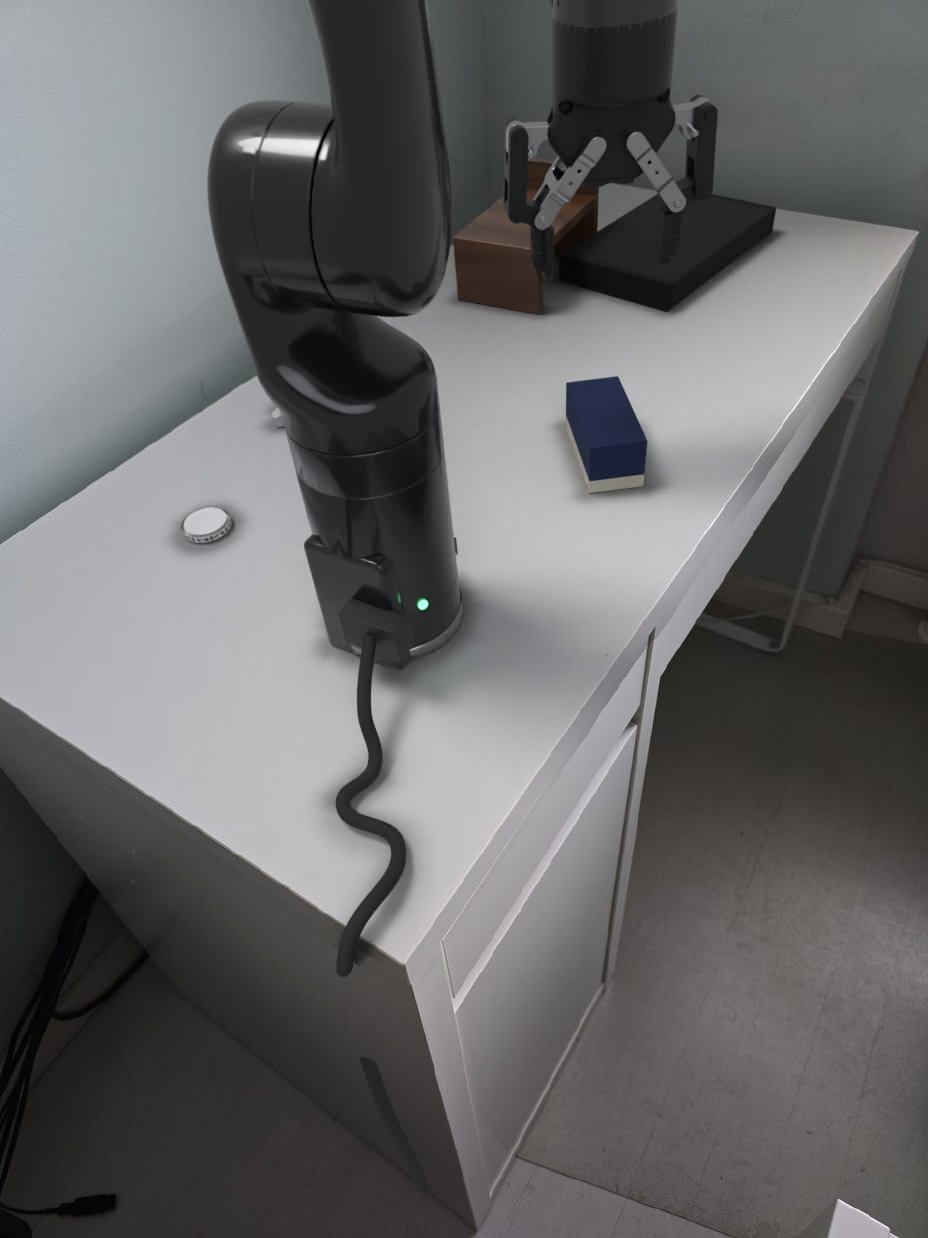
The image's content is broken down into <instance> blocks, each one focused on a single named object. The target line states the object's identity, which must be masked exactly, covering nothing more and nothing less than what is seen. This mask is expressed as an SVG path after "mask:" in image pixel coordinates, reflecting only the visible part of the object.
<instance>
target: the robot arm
mask: <svg viewBox="0 0 928 1238" xmlns="http://www.w3.org/2000/svg"><path fill="white" fill-rule="evenodd" d="M549 2H550V5H551V40H552V41H551V48H552V49H551V51H552V53H551V55H552V59H551V61H552V63H551V65H552V68H551V69H552V75H551V76H552V77H551V78H552V79H551V80H552V83H551V84H552V85H551V86H552V87H551V88H552V89H551V90H552V91H551V93H552V99H551V100H552V101H551V102H552V103H551V108H550V112H549V114H548V117H547V118H546V120H545V121H543V120H542V121H527V122H522V121H521V119H520V118H519V117H517V116H512V117H511V116H510V117H509V118H508V119H506V121H505V123H504V127H503V128H504V131H503V132H504V133H503V185H502V186H503V187H502V189H503V191H502V193H503V194H502V195H503V196H502V197H503V204H504V207H505V210H506V212H507V214H508V217H509V219H510V221H511V222H513V223H515V224H518V223H525V224H528V225H530V244H531V260H532V262H533V264H534V267H535V269H536V271H537V273H538V272H541V274H542V276H543V281H547V280H553V279H555V252H554V228H553V226H552V224H551V223H552V222H553V220H554V219H555V217H556V216H557V214H558V213H559V211H560V210H561V208H562V207H563V206H564V204H566V203H568V202H569V201H570V200H571V199H572V197H573V196H574V194H575V193H576V191H577V190H578V188H579V187H580V185H581V184H583V185H586V186H587V187H588V188H596V187H599V188H600V187H603V186H606V185H608V184H611V183H613V184H619V185H627V184H634V182H635V179H638V178H639V177H640V176H641V175H642V174H644V176H645V177H646V179H647V180H648V181H649V183H650V184H651V186H652V187H653V188H654V190H655V191H656V194H659V196H660V197H661V199H660V203H659V204H656V209H655V222H654V235H653V247H652V253H653V257H654V259H655V260H656V262H657V263H658V265H664V264H669V262H670V256H671V255H675V254H676V252H677V250H678V248H679V239H680V229H681V219H682V212H683V210H684V208H685V207H686V206H687V205H688V204H689V203H691V202H693V201H695V200H697V199H699V200H705V199H707V198H709V197H710V195H711V194H713V190H714V178H715V177H714V176H715V162H716V161H715V160H716V145H717V133H718V132H717V131H718V116H719V113H718V112H719V111H718V108H717V107H716V106H715V105H714V104H713V102H711V100H709V99H708V98H707V97H705V95H703V94H695V95H694V96H692V97H691V98H690V100H689V101H687V102H683V103H677V104H672V101H671V88H672V80H673V79H672V78H673V68H674V67H673V66H674V55H675V40H676V32H677V31H676V30H677V20H678V9H679V7H678V6H679V0H549ZM306 4H307V6H308V9H309V12H310V15H311V18H312V19H311V20H312V23H313V26H314V30H315V35H316V38H317V42H318V46H319V49H320V55H321V58H322V63H323V68H324V71H325V76H326V82H327V87H328V92H329V97H330V102H325V101H303V100H300V101H299V100H282V99H279V100H278V99H276V100H275V99H273V100H270V99H269V100H268V99H267V100H255V101H250V102H247V103H244V104H243V105H241V106H239V107H238V108H236V109H234V110H232V111H231V113H229V114H228V115H227V116H226V118H225V119H224V121H223V122H222V123H221V125H220V126H219V128H218V130H217V132H216V134H215V137H214V139H213V142H212V146H211V149H210V154H209V158H208V165H207V179H206V180H207V182H206V183H207V184H206V185H207V186H206V190H207V192H206V193H207V195H206V197H207V207H208V217H209V221H210V228H211V233H212V237H213V243H214V246H215V251H216V253H217V259H218V261H219V266H220V268H221V271H222V274H223V275H222V276H223V278H224V281H225V285H226V287H227V290H228V293H229V296H230V299H231V302H232V305H233V308H234V310H235V314H236V317H237V319H238V322H239V326H240V329H241V331H242V334H243V337H244V340H245V343H246V346H247V349H248V353H249V355H250V359H251V362H252V366H253V368H254V371H255V374H256V377H257V379H258V381H259V384H260V386H261V387H262V390H263V391H264V392H265V395H266V396H267V397H268V398H269V400H270V401H271V402H272V404H273V403H274V404H275V406H276V407H277V408H278V409H279V411H280V414H281V417H282V421H283V425H284V426H283V427H284V432H285V435H286V440H287V443H288V446H289V450H290V454H291V458H292V461H293V465H294V466H293V467H294V470H295V474H296V478H297V481H298V486H299V490H300V494H301V497H302V501H303V505H304V508H305V511H306V516H307V520H308V524H309V528H310V532H311V534H310V536H309V537H308V538H307V539H306V540H305V541H304V542H303V549H304V553H305V556H306V560H307V564H308V568H309V573H310V575H311V578H312V582H313V585H314V589H315V593H316V597H317V600H318V604H319V608H320V612H321V615H322V619H323V623H324V626H325V630H326V634H327V637H328V641H329V644H330V645H332V646H335V647H338V648H341V649H343V650H346V651H348V652H351V653H353V654H356V655H358V656H359V666H358V673H357V682H356V683H357V684H356V687H357V688H356V713H357V714H356V715H357V720H358V725H359V728H360V731H361V734H362V736H363V737H362V738H363V739H364V742H365V746H366V749H367V757H368V759H367V765H366V768H365V770H363V771H362V773H360V774H359V775H358V776H357V777H355V778H354V779H352V780H350V781H349V782H347V783H346V784H344V785H343V786H342V788H340V790H339V791H338V792H337V794H336V797H335V810H336V813H337V815H338V817H339V818H340V820H341V821H342V822H344V823H345V824H346V825H347V826H350V827H352V828H355V829H357V830H359V831H363V832H366V833H370V834H372V835H375V836H378V837H380V838H382V839H383V840H385V841H386V842H387V843H388V846H389V848H390V859H389V862H388V866H387V867H386V869H385V872H384V873H383V875H382V876H381V877H380V879H379V880H378V881H377V883H376V884H375V885H374V886H373V887H372V889H371V890H370V891H369V892H368V893H367V894H366V895H365V897H364V898H363V899H362V901H361V902H360V903H359V905H358V906H357V907H356V909H355V910H354V911H353V913H352V915H350V918H349V919H348V921H347V923H346V925H345V928H344V930H343V931H342V934H341V938H340V941H339V945H338V951H337V956H336V963H335V964H336V966H335V968H336V974H337V975H338V976H339V977H340V978H346V977H348V976H349V975H350V974H351V972H352V970H353V968H354V962H355V956H356V950H357V946H358V942H359V940H360V937H361V935H362V933H363V931H364V929H365V927H366V925H367V924H368V922H369V921H370V919H371V918H372V916H373V915H374V914H375V913H376V911H377V910H378V909H379V907H381V905H382V904H383V902H384V901H385V900H386V899H387V898H388V897H389V895H390V894H391V893H392V892H393V890H394V889H395V887H396V886H397V884H398V883H399V882H400V879H401V877H402V876H403V873H404V870H405V868H406V861H407V847H406V841H405V839H404V836H403V834H402V833H401V831H400V830H398V828H397V827H395V826H394V825H392V824H390V823H388V822H386V821H385V820H383V819H382V820H381V819H378V818H375V817H372V816H369V815H366V814H363V813H360V812H359V811H356V810H355V809H354V808H353V807H352V806H351V802H352V799H354V798H355V796H357V795H358V794H360V793H361V792H363V791H364V790H365V789H367V788H369V787H370V786H371V785H373V783H374V782H375V781H376V780H377V778H378V777H379V775H380V773H381V770H382V767H383V760H384V755H383V754H384V753H383V746H382V743H381V739H380V736H379V733H378V730H377V728H376V725H375V722H374V718H373V711H372V710H373V709H372V685H373V684H372V683H373V673H374V663H375V662H378V663H379V664H383V665H385V666H388V667H390V668H393V669H396V670H399V671H400V670H403V669H405V668H406V666H407V665H408V664H409V663H410V662H411V660H414V659H418V658H421V657H423V656H426V655H429V654H431V653H432V652H435V651H436V650H438V649H439V648H441V647H442V646H443V645H445V644H446V643H447V642H448V641H449V640H450V639H451V638H452V637H454V634H455V633H457V630H458V629H459V627H460V625H461V622H462V620H463V615H464V603H463V595H462V591H461V588H460V580H459V572H458V570H459V569H458V563H457V556H458V555H459V553H458V542H457V537H455V535H454V526H453V519H452V518H453V517H452V516H453V515H452V508H451V499H450V498H451V497H450V489H449V482H448V481H449V480H448V479H449V478H448V471H447V462H446V452H445V444H444V443H445V442H444V441H445V440H444V432H443V424H442V415H441V405H440V395H439V387H438V377H437V372H436V368H435V364H434V362H433V360H432V358H431V356H430V355H429V353H428V352H427V350H426V349H425V348H424V347H423V346H422V345H421V344H420V343H419V342H417V341H416V340H415V339H413V338H412V337H411V336H409V335H407V334H405V333H403V332H402V331H401V330H399V329H396V328H395V327H393V326H392V325H391V324H388V323H387V322H386V321H384V320H382V319H381V318H379V317H383V318H405V317H410V316H414V315H416V314H419V313H420V312H422V311H423V310H425V309H426V308H427V307H428V306H429V305H430V304H431V303H433V300H434V299H435V298H436V296H437V294H438V292H439V291H440V288H441V287H442V283H443V281H444V278H445V275H446V270H447V266H448V261H449V256H450V249H451V239H452V224H453V220H452V219H453V215H452V213H453V209H452V207H453V206H452V183H451V182H452V181H451V172H450V170H451V169H450V161H449V152H448V145H447V144H448V143H447V136H446V129H445V119H444V113H443V107H442V98H441V91H440V84H439V77H438V70H437V61H436V56H435V54H436V53H435V48H434V40H433V32H432V25H431V19H430V18H431V17H430V12H429V4H428V0H306ZM675 126H678V129H679V132H680V135H682V137H683V138H684V139H686V147H685V148H686V150H685V170H684V171H685V172H684V177H683V178H680V179H679V180H676V181H675V180H674V179H673V176H672V175H671V174H670V173H669V171H668V169H667V168H666V167H665V165H664V163H663V162H662V161H661V159H660V158H659V156H658V155H657V154H658V152H659V150H660V149H661V147H662V146H663V145H664V143H665V142H666V140H667V139H668V137H669V136H670V134H671V133H672V132H673V129H674V127H675ZM544 142H548V143H549V146H550V147H551V149H552V150H553V151H554V153H556V155H557V156H556V158H554V159H555V161H554V163H553V164H552V166H551V167H550V169H549V170H548V172H547V174H546V176H545V179H544V182H543V184H542V186H541V187H540V189H539V191H538V192H537V194H536V195H535V197H534V198H533V200H531V199H527V170H528V161H529V160H532V159H534V158H535V157H537V155H538V152H539V148H540V146H541V145H542V144H543V143H544ZM561 167H562V168H561ZM570 182H571V183H570ZM274 404H273V405H274ZM275 406H274V407H275ZM358 1058H359V1062H360V1064H361V1068H362V1071H363V1075H364V1077H365V1080H366V1084H367V1087H368V1089H369V1091H370V1094H371V1097H372V1099H373V1102H374V1104H375V1106H376V1109H377V1112H378V1113H379V1115H380V1118H381V1120H382V1122H383V1124H384V1127H385V1128H386V1130H387V1132H388V1134H389V1136H390V1138H391V1139H392V1141H393V1144H394V1145H395V1147H396V1149H397V1150H398V1152H399V1154H400V1155H401V1158H402V1159H403V1161H404V1163H405V1165H406V1166H407V1168H408V1171H409V1173H410V1174H411V1176H412V1178H413V1181H414V1182H415V1184H416V1185H415V1186H416V1187H417V1189H418V1191H419V1193H420V1194H421V1195H426V1194H428V1193H429V1191H430V1185H429V1182H428V1180H427V1177H426V1174H425V1172H424V1170H423V1168H422V1165H421V1164H420V1161H419V1159H418V1157H417V1155H416V1153H415V1152H414V1149H413V1147H412V1145H411V1143H410V1140H409V1139H408V1138H407V1137H408V1136H407V1135H406V1134H405V1131H404V1129H403V1127H402V1125H401V1123H400V1121H399V1119H398V1117H397V1114H396V1112H395V1110H394V1108H393V1105H392V1103H391V1100H390V1098H389V1095H388V1092H387V1090H386V1087H385V1084H384V1081H383V1077H382V1075H381V1071H380V1069H379V1065H378V1063H377V1062H375V1061H373V1060H372V1059H370V1058H368V1057H366V1056H358Z"/></svg>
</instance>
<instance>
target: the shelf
mask: <svg viewBox="0 0 928 1238" xmlns="http://www.w3.org/2000/svg"><path fill="white" fill-rule="evenodd" d="M555 159H556V158H547V157H537V156H536V157H535V158H534V159H532V160H529V161H528V170H527V199H531V200H533V198H534V197H535V195H536V194H537V192H538V191H539V189H540V187H541V186H542V184H543V182H544V179H545V176H546V174H547V172H548V170H549V169H550V167H551V166H552V164H553V163H554V161H555ZM561 168H562V167H561ZM570 183H571V182H570ZM599 193H600V187H596V188H588V187H587V186H586V185H583V184H581V185H580V187H579V188H578V190H577V191H576V193H575V194H574V196H573V197H572V199H571V200H570V201H569V202H568V203H566V204H564V206H563V207H562V208H561V210H560V211H559V213H558V214H557V216H556V217H555V219H554V220H553V222H552V223H551V224H552V226H553V228H554V253H557V254H563V253H564V252H566V251H567V250H569V249H571V248H572V247H574V246H575V245H577V244H579V243H580V242H582V241H583V240H585V239H586V238H588V237H590V236H591V235H593V234H594V233H596V232H598V228H599V227H598V224H599ZM452 242H453V243H452V244H453V254H454V266H455V278H456V279H455V280H456V289H457V292H456V293H457V300H458V301H463V302H468V303H473V304H479V305H483V306H489V307H494V308H501V309H506V310H510V311H511V310H512V311H517V312H521V313H528V314H533V315H540V314H541V313H542V312H543V311H544V279H543V276H542V274H541V272H538V273H537V271H536V269H535V267H534V264H533V262H532V260H531V244H530V225H528V224H525V223H518V224H515V223H513V222H511V221H510V219H509V217H508V214H507V212H506V210H505V207H504V204H503V196H501V197H500V198H499V199H497V201H495V202H494V203H493V204H492V205H491V206H489V207H488V208H487V209H486V210H485V211H483V212H482V213H481V214H479V215H478V216H477V217H476V218H475V219H473V220H472V221H470V223H468V224H467V225H466V226H465V227H464V228H462V229H461V230H460V231H459V232H457V233H456V234H454V235H453V237H452Z"/></svg>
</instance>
